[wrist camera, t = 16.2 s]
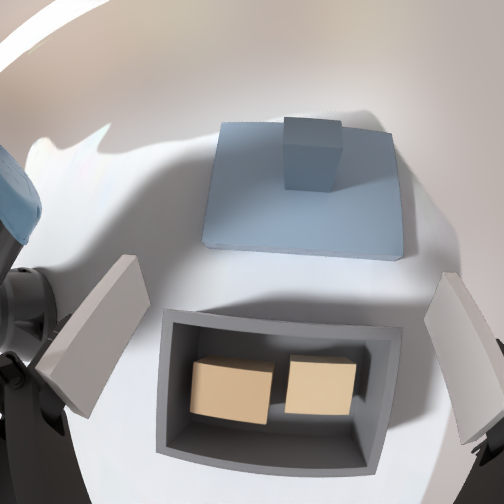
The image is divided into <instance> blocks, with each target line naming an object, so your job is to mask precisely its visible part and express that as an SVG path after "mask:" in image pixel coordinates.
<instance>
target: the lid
mask: <svg viewBox="0 0 504 504" xmlns="http://www.w3.org/2000/svg"><path fill="white" fill-rule="evenodd" d="M202 243H203V244H204V245H205V246H206V247H208V248H213V249H228V250H242V251H257V252H271V253H286V254H300V255H315V256H329V257H344V258H358V259H372V260H387V261H396V260H398V259H399V258H401V257H403V256H404V247H403V224H402V210H401V198H400V188H399V179H398V171H397V164H396V157H395V150H394V144H393V139H392V134H391V133H385V132H378V131H371V130H364V129H356V128H347V127H342V126H341V121H336V120H325V119H312V118H296V117H284V123H275V122H228V123H222V124H221V129H220V134H219V139H218V144H217V150H216V155H215V161H214V166H213V172H212V178H211V184H210V190H209V196H208V202H207V208H206V215H205V221H204V228H203V235H202Z"/></svg>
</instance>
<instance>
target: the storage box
mask: <svg viewBox="0 0 504 504" xmlns="http://www.w3.org/2000/svg"><path fill="white" fill-rule="evenodd" d="M401 340H402V328H400V327H385V326H370V325H341V324H321V323H305V322H291V321H278V320H267V319H256V318H246V317H236V316H227V315H218V314H210V313H202V312H194V311H182V310H171V309H164V312H163V321H162V332H161V343H160V355H159V369H158V387H157V412H156V452H157V453H160V454H163V455H167V456H170V457H174V458H178V459H181V460H185V461H189V462H193V463H198V464H202V465H207V466H212V467H217V468H222V469H228V470H234V471H241V472H248V473H256V474H265V475H275V476H290V477H352V476H366V475H375V473H376V470H377V466H378V463H379V460H380V456H381V452H382V449H383V445H384V441H385V437H386V432H387V428H388V424H389V419H390V414H391V409H392V404H393V399H394V393H395V387H396V381H397V374H398V366H399V359H400V350H401Z"/></svg>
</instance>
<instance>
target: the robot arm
mask: <svg viewBox="0 0 504 504" xmlns="http://www.w3.org/2000/svg"><path fill="white" fill-rule="evenodd" d="M41 213H42V205H41V200H40V197H39V195H38V193H37V191H36V189H35V187H34V185H33V183H32V182H31V180H30V179H29V177H28V176H27V174H26V173H25V172H24V170H23V169H22V168H21V166H20V165H19V164H18V163H17V161H16V160H15V159H14V158H13V157H12V156H11V155H10V154H9V153H8V152H7V151H6V150H5V149H4V148H3V147H2V146H1V145H0V352H1V353H2V354H1V355H0V413H1V414H2V417H1V419H0V504H92V503H91V500H90V498H89V495H88V492H87V489H86V487H85V484H84V481H83V478H82V475H81V471H80V468H79V465H78V461H77V458H76V454H75V451H74V447H73V443H72V439H71V434H70V430H69V425H68V420H67V415H66V413H65V411H64V410H63V409H64V407H65V405H67V406H68V407H69V408H70V409H71V411H72V412H74V413H76V414H78V415H80V416H82V417H85V418H87V419H89V417H90V415H91V413H92V411H93V409H94V407H95V405H96V403H97V401H98V399H99V397H100V395H101V393H102V391H103V389H104V387H105V385H106V383H107V381H108V379H109V377H110V375H111V374H112V372H113V370H114V368H115V366H116V364H117V362H118V360H119V359H120V357H121V355H122V353H123V351H124V349H125V348H126V346H127V344H128V342H129V340H130V339H131V337H132V335H133V333H134V332H135V330H136V328H137V326H138V325H139V323H140V321H141V319H142V318H143V316H144V314H145V313H146V311H147V309H148V307H149V306H150V304H151V303H150V300H149V297H148V293H147V290H146V286H145V283H144V279H143V276H142V272H141V268H140V265H139V261H138V257H137V255H124V254H123V255H122V256H121V257H120V258H119V259H118V260H117V262H116V263H115V264H114V265H113V266H112V267H111V269H110V270H109V271H108V272H107V273H106V274H105V276H104V277H103V278H102V279H101V280H100V282H99V283H98V284H97V285H96V286H95V288H94V289H93V290H92V291H91V292H90V294H89V295H88V296H87V297H86V299H85V300H84V301H83V302H82V304H81V305H80V306H79V308H78V309H77V310H76V311H75V313H74V314H69V315H68V316H66V317H65V318H64V319H63V320H61V321H60V322H59V324H58V325H57V326H56V305H55V300H54V295H53V292H52V289H51V287H50V285H49V283H48V281H47V279H46V278H45V277H44V275H43V274H41V273H40V272H39V271H37V270H33V269H30V268H25V267H21V268H15V269H10V268H11V267H12V265H13V263H14V261H15V260H16V258H17V256H18V254H19V253H20V251H21V249H22V248H23V246H24V245H26V244H27V243H28V241H29V236H30V235H31V233H32V231H33V230H34V228H35V226H36V225H37V223H38V222H39V220H40V217H41ZM423 320H424V323H425V325H426V328H427V330H428V333H429V335H430V338H431V341H432V344H433V346H434V349H435V352H436V355H437V358H438V361H439V364H440V367H441V370H442V373H443V376H444V379H445V383H446V386H447V389H448V393H449V396H450V400H451V404H452V407H453V411H454V415H455V419H456V423H457V428H458V432H459V437H460V442H461V445H464V444H467V443H470V442H473V441H476V440H477V439H479V438H480V437H481V436H483V435H484V434H485V433H486V436H487V439H485V440H484V441H483V442H482V443H480V444H479V445H478V446H476V447H475V448H474V449H473V450H472V452H471V453H474V452H476V451H477V450H479V449H480V450H479V452H478V453H477V454H476V456H477V458H476V460H475V462H474V464H473V466H472V469H471V471H470V473H469V475H468V477H467V479H466V481H465V483H464V485H463V487H462V489H461V491H460V492H459V494H458V496H457V498H456V500H455V501H454V503H453V504H504V344H503V343H502V342H501V341H500V340H499V339H495V338H494V336H493V334H492V332H491V330H490V328H489V326H488V324H487V322H486V320H485V319H484V317H483V315H482V313H481V312H480V310H479V308H478V307H477V305H476V303H475V301H474V300H473V298H472V296H471V295H470V293H469V291H468V290H467V288H466V287H465V285H464V283H463V282H462V280H461V279H460V277H459V276H458V274H457V273H454V272H443V274H442V276H441V279H440V282H439V284H438V287H437V289H436V292H435V294H434V297H433V299H432V301H431V304H430V306H429V308H428V311H427V313H426V315H425V317H424V319H423ZM22 361H31V362H30V364H29V365H28V366H27V367H26V366H25V365H24V363H23V362H22Z"/></svg>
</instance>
